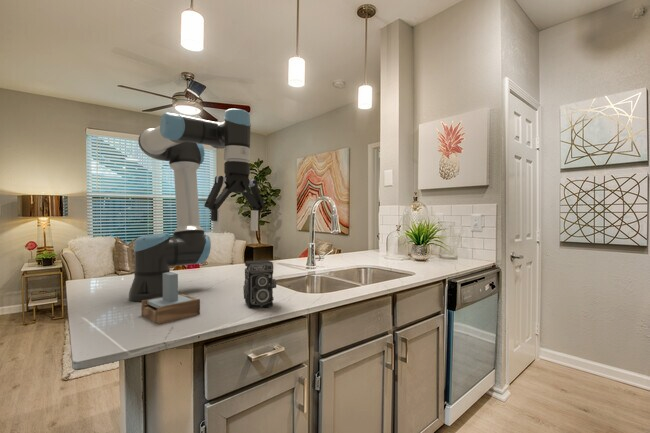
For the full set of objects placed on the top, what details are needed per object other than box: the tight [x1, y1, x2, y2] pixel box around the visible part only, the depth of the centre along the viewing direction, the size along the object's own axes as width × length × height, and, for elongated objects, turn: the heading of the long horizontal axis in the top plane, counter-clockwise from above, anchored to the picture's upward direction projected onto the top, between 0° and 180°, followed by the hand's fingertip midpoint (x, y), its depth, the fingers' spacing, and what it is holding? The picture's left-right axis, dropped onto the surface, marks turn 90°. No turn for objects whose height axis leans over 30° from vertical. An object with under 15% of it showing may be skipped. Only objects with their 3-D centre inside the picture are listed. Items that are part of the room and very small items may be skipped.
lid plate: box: [147, 271, 193, 308], centre depth 96 cm, size 10×9×9 cm
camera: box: [242, 259, 277, 309], centre depth 106 cm, size 10×10×15 cm
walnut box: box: [141, 292, 201, 325], centre depth 96 cm, size 12×12×5 cm
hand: (236, 231), depth 97 cm, fingers open, 13 cm apart
